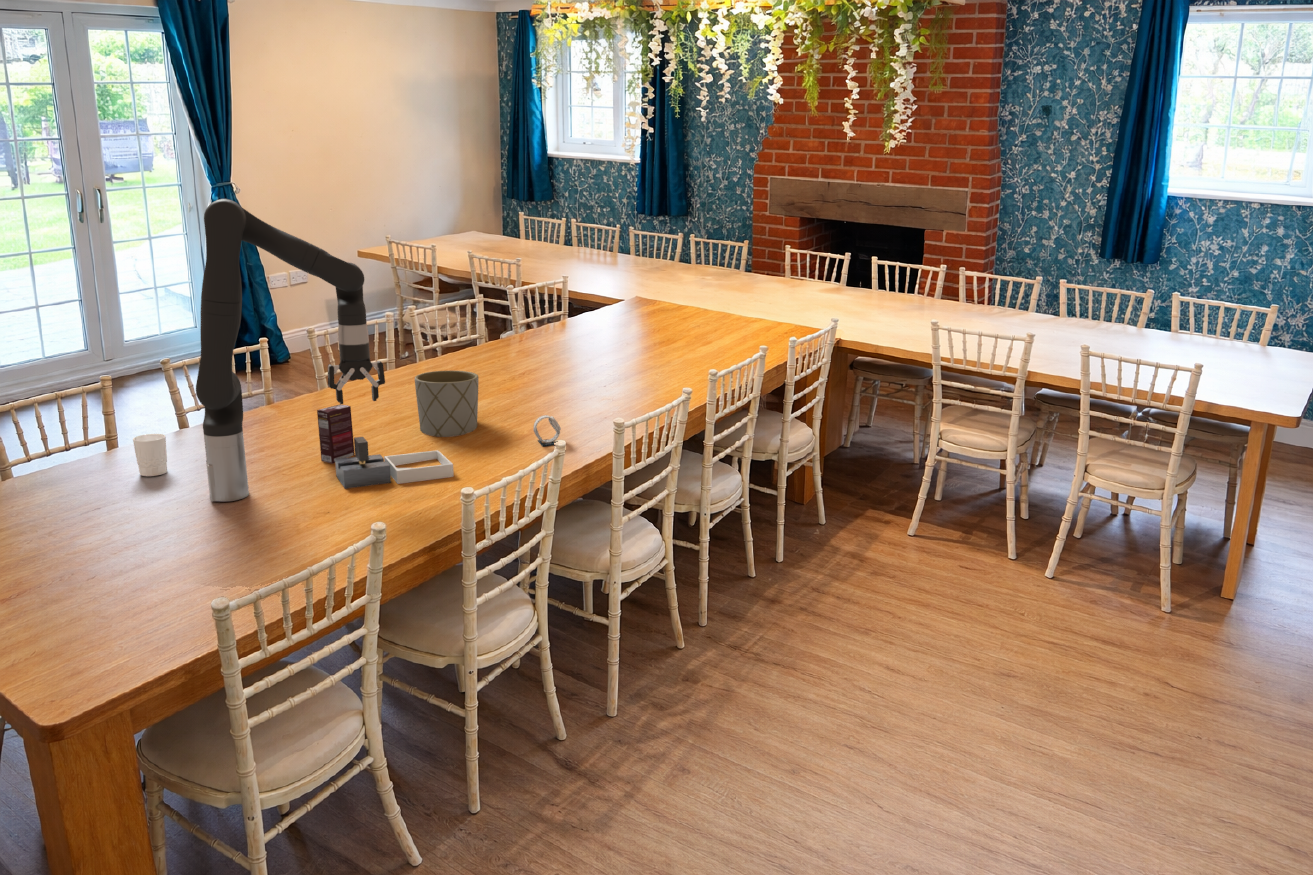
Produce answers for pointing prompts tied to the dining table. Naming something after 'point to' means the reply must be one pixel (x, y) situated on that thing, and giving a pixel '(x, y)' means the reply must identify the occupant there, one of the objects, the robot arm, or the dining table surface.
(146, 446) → the white cup
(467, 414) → the planter
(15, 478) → the dining table surface
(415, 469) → the key tray
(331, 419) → the supplement box
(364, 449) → the t key
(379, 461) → the plate
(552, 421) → the watch
